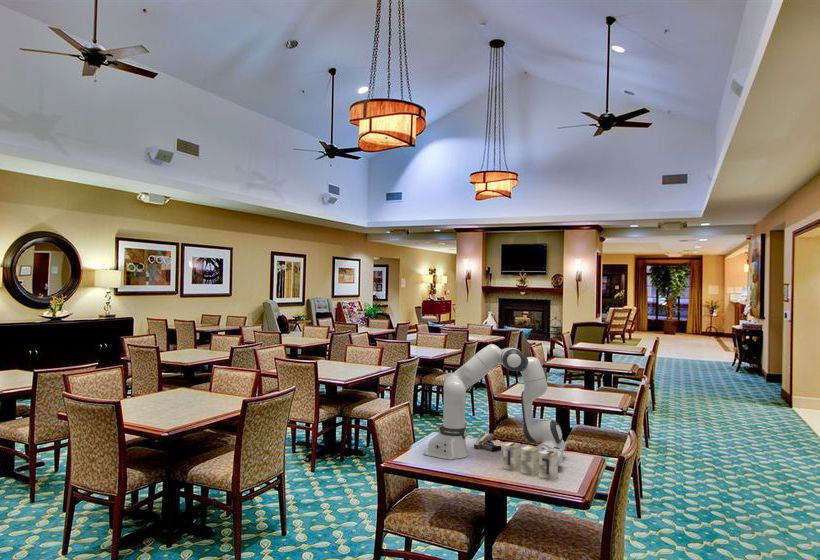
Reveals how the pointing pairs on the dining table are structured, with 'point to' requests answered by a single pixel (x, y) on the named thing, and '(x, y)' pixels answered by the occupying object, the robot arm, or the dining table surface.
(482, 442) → the toy gun
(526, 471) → the plain block
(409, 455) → the dining table surface
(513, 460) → the block one
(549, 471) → the block seven
